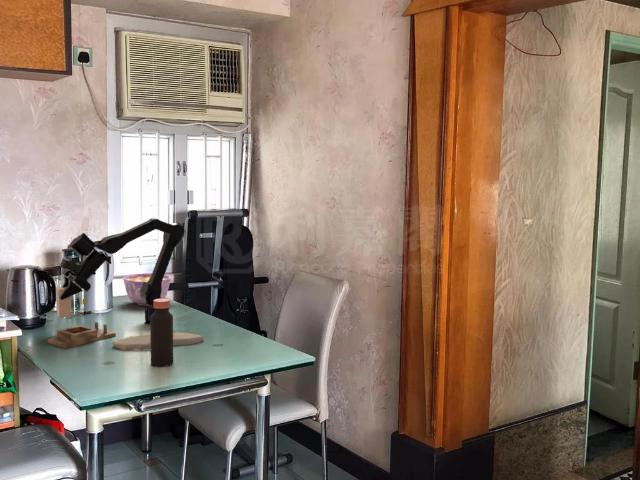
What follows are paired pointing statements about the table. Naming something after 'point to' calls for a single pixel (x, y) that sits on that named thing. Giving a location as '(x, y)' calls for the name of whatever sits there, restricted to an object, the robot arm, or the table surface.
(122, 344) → the stone tablet
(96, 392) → the table surface
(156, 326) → the bottle
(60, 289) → the clay bar
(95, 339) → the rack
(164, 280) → the bowl of food
